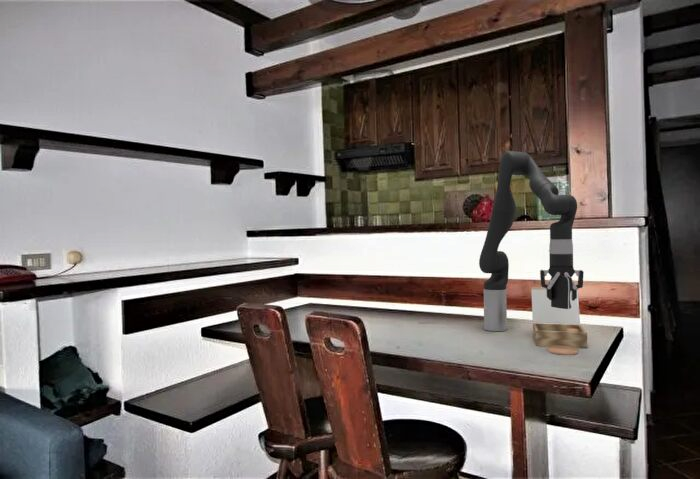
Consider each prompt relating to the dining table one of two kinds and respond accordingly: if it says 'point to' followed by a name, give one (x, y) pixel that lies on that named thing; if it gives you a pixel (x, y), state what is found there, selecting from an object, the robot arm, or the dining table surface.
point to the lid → (552, 309)
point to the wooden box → (559, 335)
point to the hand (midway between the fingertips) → (561, 299)
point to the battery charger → (561, 292)
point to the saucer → (562, 350)
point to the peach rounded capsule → (572, 330)
